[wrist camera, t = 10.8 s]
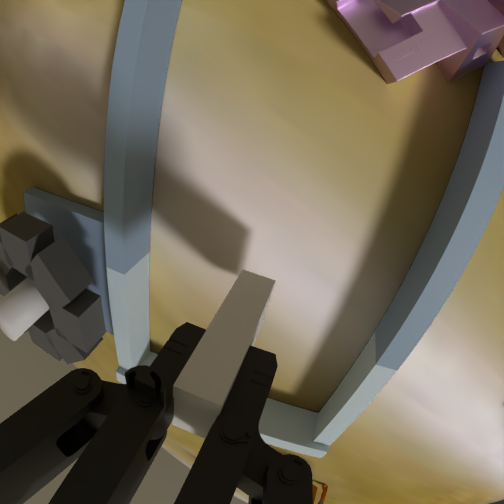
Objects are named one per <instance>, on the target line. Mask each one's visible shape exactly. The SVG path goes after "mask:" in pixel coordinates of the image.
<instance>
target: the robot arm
mask: <svg viewBox="0 0 504 504" xmlns="http://www.w3.org/2000/svg"><path fill="white" fill-rule="evenodd" d="M274 284H275V280H272V279H269V278H266V277H263V276H260V275H257V274H255V273H252V272H249V271H246V270H242V271H241V273H240V275H239V276H238V278H237V280H236V281H235V283H234V285H233V287H232V288H231V290H230V292H229V293H228V295H227V297H226V298H225V300H224V302H223V303H222V305H221V307H220V308H219V310H218V312H217V313H216V315H215V317H214V318H213V320H212V322H211V323H210V325H209V327H208V328H207V330H205V329H203V328H200V327H198V326H195V325H193V324H190V323H188V322H186V323H185V324H183V325H181V326H180V327H178V328H176V330H175V331H174V332H173V334H172V335H171V337H170V338H169V340H168V341H167V342H166V344H165V345H164V347H163V348H162V349H161V351H160V352H159V354H158V355H157V357H156V358H155V359H154V361H153V362H152V364H151V365H150V366H147V365H138V366H135V367H132V368H130V369H129V370H128V371H127V372H125V373H124V374H125V379H126V384H117V383H112V382H108V381H103V380H101V379H100V377H99V376H98V375H97V373H95V372H94V371H92V370H90V369H86V368H80V369H75V370H73V371H71V372H70V373H68V374H67V375H65V376H64V377H63V378H61V379H60V380H59V381H57V382H56V383H55V384H53V385H52V386H50V387H49V388H48V389H46V390H45V391H44V392H42V393H41V394H40V395H38V396H37V397H36V398H34V399H33V400H32V401H30V402H29V403H27V404H26V405H25V406H23V407H22V408H21V409H20V410H18V411H17V412H15V413H14V414H13V415H11V416H10V417H9V418H7V419H6V420H5V421H3V422H2V423H1V424H0V504H23V503H24V502H25V501H27V500H28V499H29V498H30V497H32V496H33V495H34V494H35V493H37V492H38V491H39V490H40V489H41V488H43V487H44V486H45V485H46V484H48V483H49V482H50V481H51V480H53V479H54V478H55V477H56V476H57V475H58V474H60V473H61V472H62V471H63V470H64V469H66V468H67V467H68V466H69V465H70V464H71V463H73V462H74V461H75V460H76V459H77V458H78V460H77V462H76V463H75V464H74V466H73V467H72V469H71V470H70V472H69V473H68V475H67V476H66V478H65V479H64V481H63V482H62V484H61V485H60V487H59V488H58V490H57V491H56V493H55V494H54V496H53V497H52V499H51V500H50V502H49V504H129V503H130V501H131V499H132V498H133V496H134V494H135V493H136V491H137V489H138V487H139V485H140V484H141V482H142V480H143V478H144V476H145V475H146V473H147V471H148V469H149V467H150V465H151V464H152V462H153V460H154V458H155V456H156V455H157V453H158V451H159V449H160V447H161V446H162V444H163V442H164V440H165V438H166V435H167V429H168V427H169V425H170V423H171V422H172V420H173V425H175V426H177V427H179V428H181V429H184V430H186V431H188V432H191V433H193V434H196V435H198V436H201V437H203V438H206V439H205V441H204V443H203V445H202V447H201V449H200V451H199V453H198V455H197V458H196V460H195V462H194V464H193V466H192V468H191V470H190V472H189V474H188V476H187V478H186V480H185V483H184V484H183V486H182V488H181V491H180V493H179V495H178V497H177V499H176V501H175V503H174V504H230V502H231V500H232V497H233V495H234V492H235V490H236V487H237V488H239V489H240V490H242V491H243V492H245V493H246V494H247V495H249V503H248V504H313V486H312V472H311V468H310V466H309V465H308V463H307V462H306V461H305V460H304V459H302V458H301V457H299V456H296V455H291V454H287V455H282V454H280V453H279V452H277V451H276V450H274V449H273V448H271V447H270V446H269V445H267V444H266V443H265V442H264V440H263V439H262V438H261V435H260V433H259V421H260V418H261V415H262V412H263V409H264V406H265V403H266V400H267V397H268V394H269V391H270V388H271V385H272V382H273V379H274V376H275V373H276V370H277V360H276V355H275V354H273V353H270V352H267V351H264V350H262V349H259V348H256V347H253V345H254V342H255V340H256V338H257V335H258V333H259V330H260V328H261V325H262V322H263V319H264V316H265V313H266V310H267V307H268V303H269V300H270V297H271V294H272V291H273V288H274Z"/></svg>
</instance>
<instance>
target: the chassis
mask: <svg viewBox="0 0 504 504" xmlns="http://www.w3.org/2000/svg"><path fill="white" fill-rule="evenodd" d="M181 2H182V0H125V2H124V6H123V11H122V15H121V20H120V25H119V30H118V35H117V41H116V47H115V53H114V59H113V66H112V73H111V81H110V89H109V98H108V108H107V120H106V133H105V152H104V212H101V211H98V210H96V209H93V208H90V207H87V206H84V205H82V204H79V203H76V202H73V201H70V200H68V199H65V198H62V197H59V196H57V195H54V194H51V193H48V192H46V191H43V190H40V189H37V188H35V187H32V188H30V189H28V190H26V191H24V192H23V196H24V204H25V212H26V213H27V214H29V215H31V216H33V217H36V218H38V219H40V220H42V221H44V222H47V223H49V224H51V225H53V233H54V240H55V241H57V240H58V239H60V238H61V237H63V236H64V237H65V239H66V240H67V242H68V243H69V245H70V246H71V248H72V249H73V251H74V252H75V254H76V255H77V257H78V258H79V260H80V261H81V263H82V264H83V266H84V267H85V268H86V270H87V271H88V273H89V274H90V275H91V277H92V278H93V280H94V281H93V282H92V283H91V284H90V285H89V286H88V287H87V288H86V289H88V290H90V291H92V292H94V293H96V294H98V295H100V296H101V301H102V308H103V315H104V322H105V328H106V331H108V332H110V333H112V334H114V338H115V345H116V351H117V357H118V363H119V368H118V369H117V370H116V376H117V380H118V381H119V382H121V383H123V384H126V379H125V374H124V373H125V372H127V371H128V370H129V369H130V368H132V367H135V366H138V365H147V366H150V365H151V364H152V362H153V361H154V359H155V358H156V357H157V355H158V354H156V353H154V352H151V351H150V332H149V252H150V226H151V208H152V193H153V180H154V169H155V158H156V149H157V140H158V131H159V123H160V115H161V108H162V101H163V94H164V88H165V82H166V76H167V70H168V64H169V59H170V53H171V48H172V43H173V38H174V33H175V28H176V24H177V19H178V15H179V10H180V6H181ZM503 188H504V61H498V62H491V63H486V65H485V66H484V68H483V73H482V77H481V81H480V86H479V90H478V94H477V97H476V101H475V105H474V108H473V112H472V115H471V119H470V122H469V125H468V129H467V132H466V135H465V138H464V141H463V144H462V147H461V150H460V153H459V156H458V159H457V161H456V164H455V167H454V170H453V172H452V175H451V178H450V180H449V183H448V185H447V188H446V190H445V193H444V195H443V198H442V200H441V203H440V205H439V207H438V210H437V212H436V214H435V217H434V219H433V221H432V223H431V226H430V228H429V230H428V232H427V234H426V236H425V239H424V241H423V243H422V245H421V247H420V249H419V251H418V253H417V255H416V257H415V259H414V261H413V263H412V265H411V267H410V269H409V271H408V273H407V275H406V277H405V279H404V281H403V282H402V284H401V286H400V288H399V290H398V292H397V293H396V295H395V297H394V299H393V301H392V302H391V304H390V306H389V308H388V309H387V311H386V313H385V315H384V316H383V318H382V320H381V321H380V323H379V325H378V326H377V328H376V330H375V331H374V333H373V335H372V336H371V338H370V339H369V341H368V343H367V344H366V346H365V347H364V349H363V350H362V352H361V354H360V355H359V357H358V358H357V360H356V361H355V363H354V364H353V366H352V367H351V369H350V370H349V372H348V373H347V375H346V376H345V377H344V379H343V380H342V382H341V383H340V385H339V386H338V387H337V389H336V390H335V392H334V393H333V394H332V396H331V397H330V399H329V400H328V401H327V403H326V404H325V405H324V407H323V408H322V409H321V411H320V412H319V413H316V412H313V411H309V410H306V409H302V408H299V407H295V406H292V405H289V404H286V403H282V402H279V401H276V400H273V399H270V398H267V400H266V403H265V406H264V409H263V412H262V415H261V418H260V421H259V433H260V435H261V438H262V439H263V440H264V442H265V443H267V444H270V445H273V446H276V447H280V448H283V449H287V450H290V451H294V452H298V453H302V454H306V455H310V456H314V457H318V458H322V457H323V456H324V455H325V454H327V453H328V449H329V446H330V445H331V444H332V443H333V442H334V441H335V440H336V439H337V438H338V437H339V436H340V435H341V434H342V433H343V432H344V431H345V430H346V429H347V428H348V426H349V425H350V424H351V423H352V422H353V421H354V420H355V419H356V418H357V417H358V416H359V415H360V414H361V413H362V411H363V410H364V409H365V408H366V407H367V406H368V405H369V404H370V402H371V401H372V400H373V399H374V398H375V397H376V396H377V394H378V393H379V392H380V391H381V390H382V388H383V387H384V386H385V385H386V384H387V382H388V381H389V380H390V379H391V377H392V376H393V375H394V374H395V372H396V371H397V370H398V369H399V367H400V366H401V365H402V364H403V362H404V361H405V360H406V358H407V357H408V356H409V354H410V353H411V352H412V350H413V349H414V347H415V346H416V345H417V343H418V342H419V341H420V339H421V338H422V336H423V335H424V333H425V332H426V331H427V329H428V328H429V326H430V325H431V323H432V322H433V320H434V319H435V317H436V316H437V314H438V313H439V311H440V310H441V308H442V306H443V305H444V303H445V302H446V300H447V298H448V297H449V295H450V293H451V292H452V290H453V288H454V287H455V285H456V283H457V282H458V280H459V278H460V277H461V275H462V273H463V271H464V269H465V268H466V266H467V264H468V262H469V260H470V258H471V257H472V255H473V253H474V251H475V249H476V247H477V245H478V243H479V241H480V239H481V237H482V235H483V233H484V231H485V229H486V227H487V225H488V222H489V220H490V218H491V216H492V214H493V211H494V209H495V207H496V205H497V202H498V200H499V197H500V195H501V193H502V190H503ZM48 310H49V306H48V304H47V303H46V301H45V300H44V299H43V297H42V296H41V294H40V293H39V292H38V290H37V289H36V287H35V286H34V284H33V283H32V281H31V280H30V278H26V279H25V280H24V281H23V282H21V283H20V284H19V285H17V286H16V287H15V288H14V289H12V290H11V291H10V292H9V293H8V294H6V295H5V296H4V297H3V298H1V299H0V328H1V330H2V331H3V332H4V333H5V334H6V335H7V336H8V337H9V338H10V339H11V340H13V341H16V340H17V339H18V338H19V337H20V336H21V335H22V334H23V333H24V332H25V331H26V330H27V329H28V328H29V327H30V326H31V325H32V324H33V323H35V322H36V321H37V320H38V319H39V318H40V317H41V316H42V315H43V314H44V313H45V312H46V311H48Z"/></svg>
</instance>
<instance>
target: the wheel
mask: <svg viewBox="0 0 504 504" xmlns="http://www.w3.org/2000/svg"><path fill="white" fill-rule="evenodd" d="M26 278H30V280H31V281H32V283H33V284H34V286H35V287H36V289H37V290H38V292H39V293H40V294H41V296H42V297H43V299H44V300H45V301H46V303H47V304H48V306H49V310H48V311H46V312H45V313H44V314H43V315H42V316H41V317H40V318H39V319H38V320H37V321H36V322H35V323H33V324H32V325H31V326H30V327H29V328H28V329H27V330H26V331H25V332H27V331H29V333H30V336H31V339H32V341H33V342H34V343H35V344H36V345H38V346H39V347H40V348H42V349H43V350H44V351H46V352H47V353H49V354H50V355H52V356H53V357H54V358H56V359H57V360H59V361H60V360H61V359H62V358H63V359H64V360H65V361H66V362H67V364H69V363H73V362H77V361H81V360H85V359H86V358H87V357H88V356H89V354H90V353H91V352H92V351H93V350H94V349H95V348H96V346H97V345H98V344H99V343H100V342H101V341H102V340H103V338H102V336H103V335H104V334H105V333H106V328H105V322H104V315H103V308H102V301H101V296H100V295H98V294H96V293H94V292H92V291H90V290H88V289H86V288H87V287H88V286H89V285H90V284H91V283H92V282H93V281H94V280H93V278H92V277H91V275H90V274H89V273H88V271H87V270H86V268H85V267H84V266H83V264H82V263H81V261H80V260H79V258H78V257H77V255H76V254H75V252H74V251H73V249H72V248H71V246H70V245H69V243H68V242H67V240H66V239H65V237H64V236H63V237H61V238H60V239H58V240H57V241H55V240H54V233H53V225H51V224H49V223H47V222H44V221H42V220H40V219H38V218H36V217H33V216H31V215H29V214H27V213H25V212H22V213H20V214H19V215H17V214H15V215H13V216H12V217H10V218H8V219H7V220H5V221H3V222H1V223H0V294H1V295H3V296H5V295H6V294H8V293H9V292H10V291H11V290H12V289H14V288H15V287H16V286H17V285H19V284H20V283H21V282H23V281H24V280H25V279H26ZM25 332H24V333H25Z"/></svg>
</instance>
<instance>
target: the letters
mask: <svg viewBox="0 0 504 504" xmlns="http://www.w3.org/2000/svg"><path fill="white" fill-rule="evenodd" d="M326 1H327V2H328V4H329V5H330V6H331V7H332V8H333V10H334V11H335V12H336V13H337V14H338V16H339V17H340V18H341V19H342V21H343V22H344V23H345V24H346V26H347V27H348V28H349V30H350V31H351V32H352V34H353V35H354V36H355V38H356V39H357V40H358V42H359V43H360V44H361V46H362V47H363V49H364V50H365V51H366V53H367V54H368V56H369V57H370V59H371V60H372V61H373V63H374V64H375V66H376V67H377V69H378V70H379V72H380V73H381V75H382V77H383V78H384V80H385V81H386V83H387V84H389V83H393V82H397V81H399V80H401V79H403V78H405V77H407V76H409V75H411V74H413V73H415V72H417V71H419V70H421V69H423V68H425V67H427V66H429V65H431V64H434V63H436V64H437V65H438V67H439V69H440V70H441V72H442V74H443V76H444V77H445V79H446V81H447V83H450V82H452V81H454V80H456V79H458V78H460V77H462V76H464V75H467V74H469V73H471V72H473V71H475V70H477V69H479V68H482V67H484V66H485V65H486V63H488V61H489V59H490V58H491V56H492V54H493V53H494V51H495V49H496V47H498V49H499V51H500V53H501V55H502V57H503V58H504V0H326Z"/></svg>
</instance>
